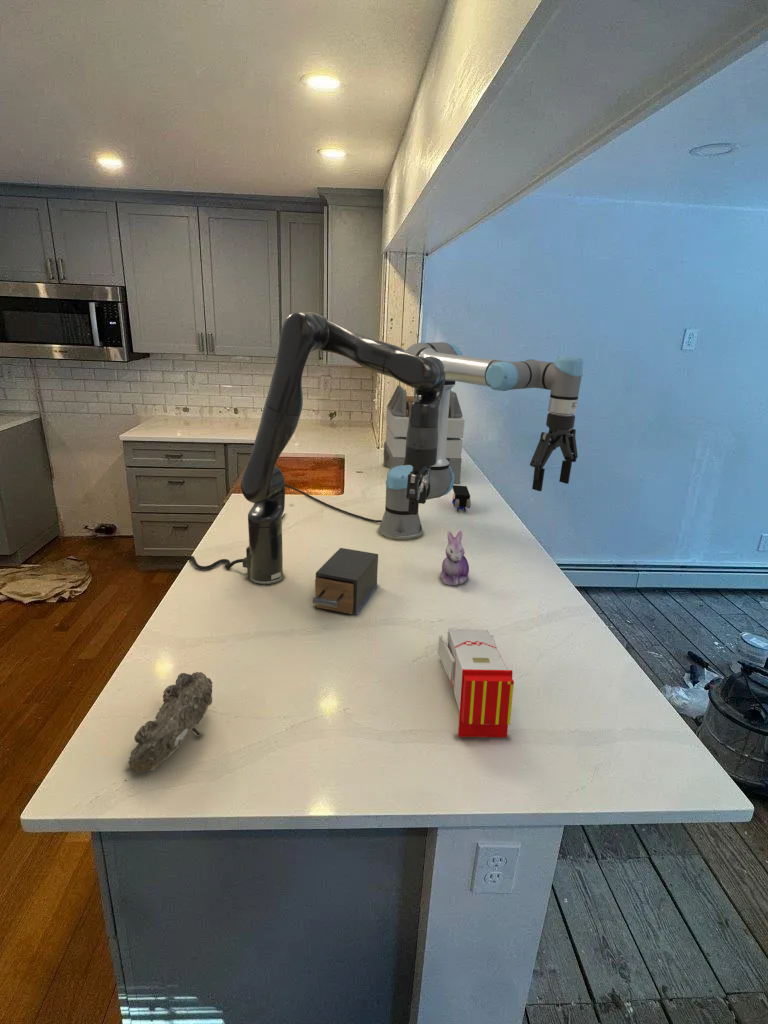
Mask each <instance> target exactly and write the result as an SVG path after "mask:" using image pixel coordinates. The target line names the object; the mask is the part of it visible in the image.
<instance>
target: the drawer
mask: <svg viewBox="0 0 768 1024" xmlns="http://www.w3.org/2000/svg"><path fill="white" fill-rule="evenodd" d="M353 602H354V583H352V582H347V581H341V580H336V579H330V578H325V577H322V578H318V577H317V578H316V577H315V579H314V597H313V599H312V604H314V608H318V609H322V610H323V609H324V610H327V611H333V612H339V613H344V614H349V615H353V614H352V613H353Z"/></svg>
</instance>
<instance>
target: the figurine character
mask: <svg viewBox="0 0 768 1024" xmlns="http://www.w3.org/2000/svg"><path fill="white" fill-rule="evenodd" d="M452 490H453V494H452V501H451V503H452V504H453V507H454V508H456V511H457V512H460V510H463V511H464V513H466V512H467V509H470V508H471V505H472V504H471V501H472V500H471V494H470V491H469V488H468V486H467V485H456V484H454V485H453V487H452ZM466 508H467V509H466Z"/></svg>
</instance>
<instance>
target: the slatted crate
mask: <svg viewBox="0 0 768 1024" xmlns="http://www.w3.org/2000/svg"><path fill="white" fill-rule="evenodd" d="M407 394H408V393H407V390H406V389H404V388H403V387H402V385H399V384H398V385H397V386H396V388H395V390H394V392H393V394H392V395H391V398H390V400H389V402H388V404H387V405H386V413H385V414H386V415H385V423H386V428H385V438H384V442H383V466H384V467H388V468H389V470H390V469H392V468H394V467H396V466H401V465H404V466H405V465H409V464H407V463H406V462H405V452H406V436H407V429H408V422H409V408H410V404H411V402H412V400H413V399H414V396H415V395H414V396H413V395H412V396H411V395H407ZM464 429H465V419H464V418H463V411H462V408H461V405H460V402H459V398H458V395H457V392H455V391H453V390H452V389H451V390H450V401H449V415H448V428H447V441H446V454H445V458H446V459H447V460H448V461H449V466H450V467H451V468H452V472H453V473H454V484H455V483H456V484H459V483H461V472H462V461H463V460H462V453H463V442H464V441H463V440H462V439H463V438H464V431H465V430H464Z"/></svg>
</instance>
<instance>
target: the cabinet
mask: <svg viewBox="0 0 768 1024" xmlns="http://www.w3.org/2000/svg"><path fill="white" fill-rule="evenodd" d="M378 567H379V553H375V552H368V551H364V550H363V551H362V550H357V549H351V548H345V547H339V548H338V550H336V551H335V552H334V553H333V555H331V557H329V559H327V561H325V562H324V564H323V565H322V566H321V567H320V568H319V569H318V570H316V572H315V579H316V578H317V577H318V578H322V577H325V578H330V579H336V580H341V581H347V582H352V583H354V602H353V613H352V614H351V615H354V616H356V615H358V613H359V612H360V611H361V609H362V607H363V606H364V605H365V603H366V602H367V601H368V599H369V598H370V596H371V595H372V594H373V592H374V591H375V589H377V586H378Z"/></svg>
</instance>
